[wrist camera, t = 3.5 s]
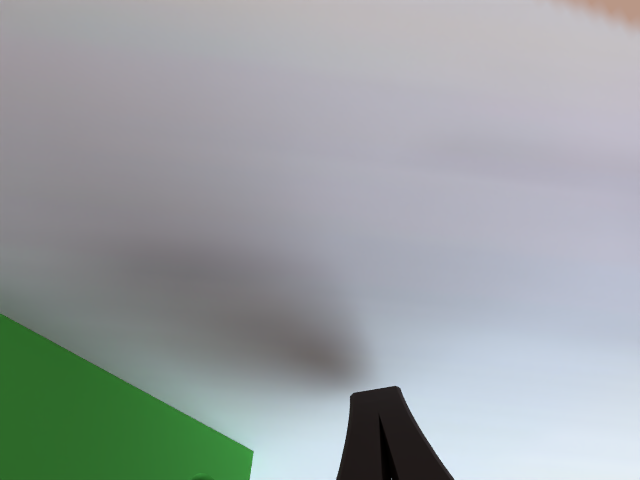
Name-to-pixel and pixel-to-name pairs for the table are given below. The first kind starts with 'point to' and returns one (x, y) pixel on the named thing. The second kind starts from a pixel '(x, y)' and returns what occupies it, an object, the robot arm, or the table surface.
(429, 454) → the robot arm
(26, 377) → the pipe clamp
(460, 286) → the table surface
